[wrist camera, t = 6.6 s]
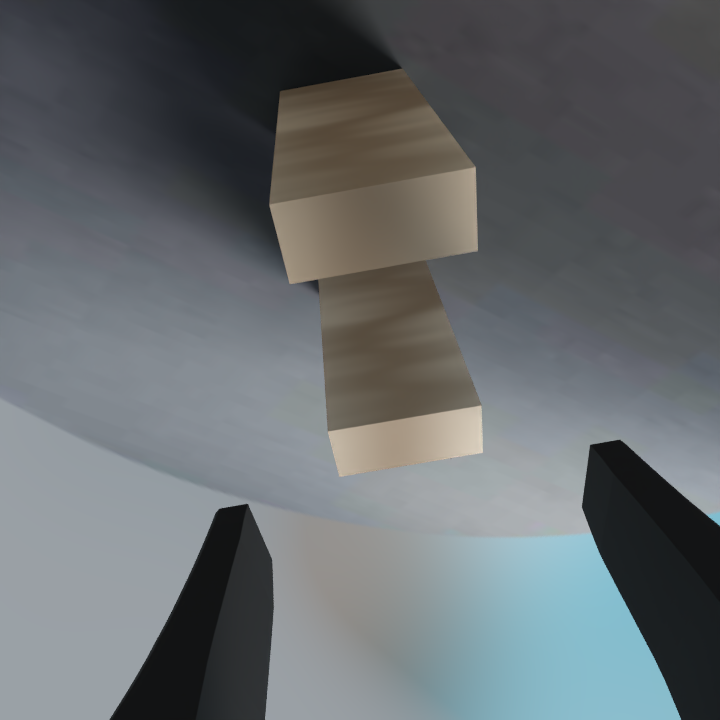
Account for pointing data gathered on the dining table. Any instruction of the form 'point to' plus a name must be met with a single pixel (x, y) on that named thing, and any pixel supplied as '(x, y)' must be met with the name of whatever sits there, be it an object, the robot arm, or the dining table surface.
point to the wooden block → (394, 372)
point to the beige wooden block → (367, 179)
